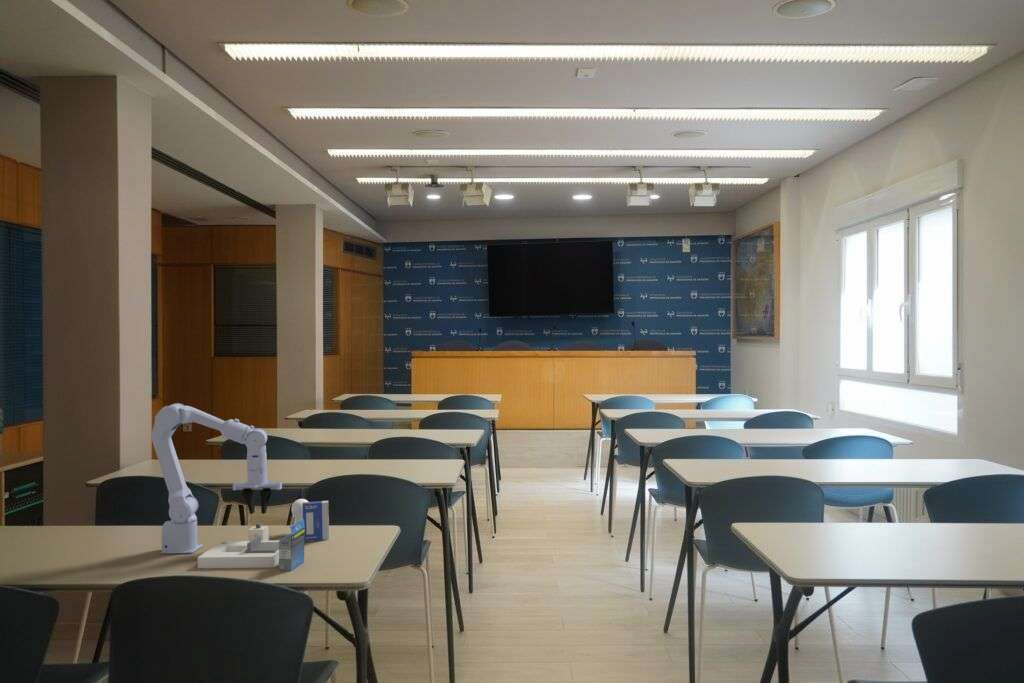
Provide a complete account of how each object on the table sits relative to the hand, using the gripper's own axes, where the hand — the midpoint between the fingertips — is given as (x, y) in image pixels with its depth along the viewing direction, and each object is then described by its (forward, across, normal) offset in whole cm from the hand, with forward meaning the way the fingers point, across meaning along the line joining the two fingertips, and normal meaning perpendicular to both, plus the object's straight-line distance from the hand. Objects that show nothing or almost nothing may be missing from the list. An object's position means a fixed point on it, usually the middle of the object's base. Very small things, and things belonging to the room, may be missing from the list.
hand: (258, 513), depth 227 cm
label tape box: (+10, +17, -21) cm, 29 cm away
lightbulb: (+10, +9, +14) cm, 19 cm away
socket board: (+10, +1, -14) cm, 17 cm away
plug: (+10, 0, 0) cm, 10 cm away
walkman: (+10, +16, +6) cm, 20 cm away
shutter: (+7, +7, -14) cm, 17 cm away
